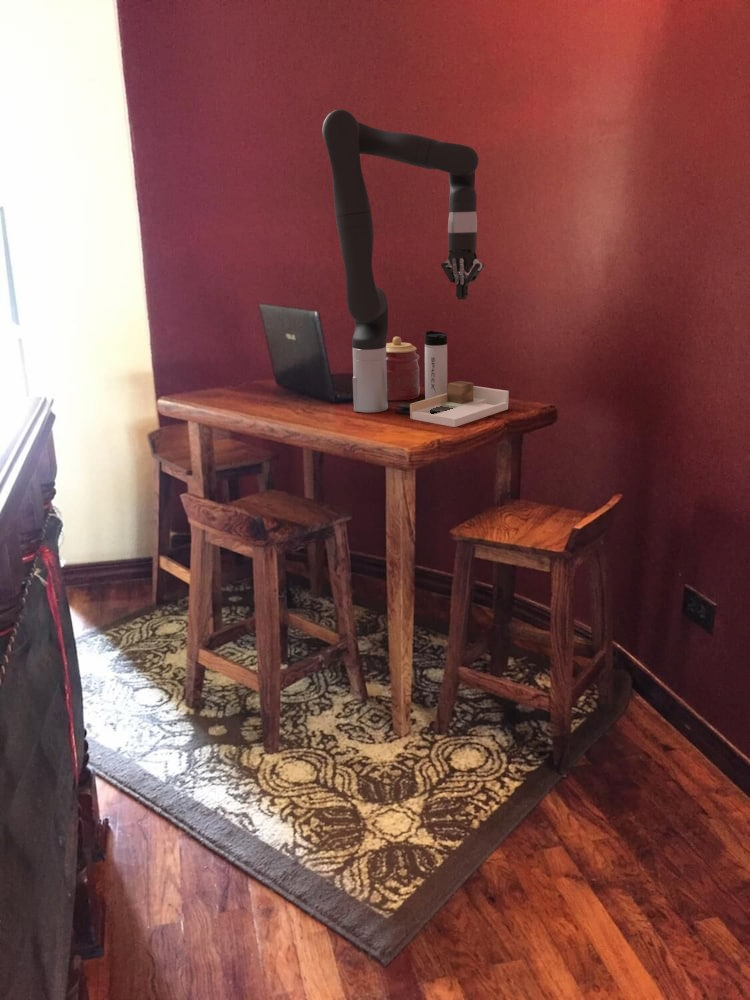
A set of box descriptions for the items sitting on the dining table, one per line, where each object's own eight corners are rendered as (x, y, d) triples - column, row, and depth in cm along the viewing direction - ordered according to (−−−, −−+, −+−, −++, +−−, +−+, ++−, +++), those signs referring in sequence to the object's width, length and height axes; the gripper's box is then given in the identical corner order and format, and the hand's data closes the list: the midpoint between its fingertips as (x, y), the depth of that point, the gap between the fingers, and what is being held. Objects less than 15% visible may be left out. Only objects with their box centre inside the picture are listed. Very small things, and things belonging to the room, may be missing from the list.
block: (460, 404, 210) (460, 385, 209) (447, 401, 214) (447, 383, 212) (473, 401, 213) (473, 383, 212) (460, 398, 217) (460, 380, 215)
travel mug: (437, 399, 226) (437, 329, 219) (451, 403, 221) (451, 331, 214) (420, 402, 223) (419, 331, 216) (433, 406, 218) (433, 334, 211)
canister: (378, 392, 238) (376, 333, 232) (420, 391, 236) (420, 333, 230) (374, 401, 226) (372, 340, 220) (418, 401, 224) (418, 339, 218)
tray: (454, 427, 196) (454, 407, 194) (410, 418, 205) (409, 400, 203) (508, 409, 212) (508, 391, 210) (464, 402, 221) (464, 384, 220)
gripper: (492, 230, 200) (490, 299, 206) (451, 230, 208) (450, 297, 214) (474, 231, 195) (473, 301, 201) (433, 231, 203) (433, 299, 209)
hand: (461, 299), depth 208 cm, fingers closed
